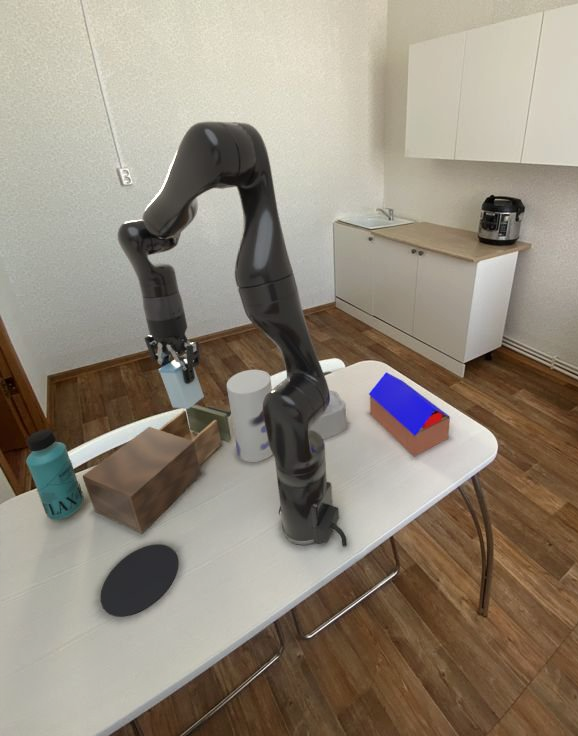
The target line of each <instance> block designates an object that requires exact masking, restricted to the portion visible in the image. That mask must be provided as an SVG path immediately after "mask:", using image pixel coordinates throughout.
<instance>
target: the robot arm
mask: <svg viewBox="0 0 578 736" xmlns="http://www.w3.org/2000/svg"><path fill="white" fill-rule="evenodd" d="M271 166H272V165H271V162H270V156H269V153H268V148H267V146H266V143H265V140H264V139H263V136H262V134H261V133H260V132H259V131H258V130H257V128H256V127H254V125H251V124H250V123H247V122H237V121H213V120H211V121H210V120H209V121H200V122H196V123H194V124H192V125H191V126H190V127H189V128H188V129H187V131H186V132H185V133H184V136H183V137H182V139H181V141H180V143H179V146H178V148H177V150H176V153H175V155H174V157H173V160H172V162H171V164H170V166H169V169H168V173H167V175H166V178H165V180H164V183H163V185H162V187H161V189H160V190H159V192H158V193H157V194H156V195H155V197H154V198H153V199H152V200H151V202H149V204H148V205H147V207H146V208H145V209H144V211H143V214H142V218H141V219H138V220H130V221H125V222H123V223H122V224H121V225H120V226H119V228H118V230H117V241H118V245H119V246H120V248H121V250H122V252H123V253H124V254H125V256H126V258H127V260H128V261H129V263H130V265H131V268H132V269H133V271H134V273H135V276H136V277H137V280H138V285H139V288H140V293H141V297H142V308H143V311H144V316H145V320H146V325H147V329H148V333H149V334H148V335H147V336H144V341H145V343H146V347H147V350H148V353H149V355H150V359H151V360H152V361H154V362H155V361H157V364H158V365H160V368H161V367H163V366H165V365H167V364H168V363H170V362H172V360H171V357H173V360H175V361H176V362H179V364H180V365H181V367H182V369H183V370H182V372H183V377H184V381H185V383H186V384H189V383H191V382H192V381H193V380H194V379H195V375H194V370H193V368H195V367H197V366H199V365H200V364H201V357H200V343H199V341H198V340H197V341H194V342H191V341H189V339H188V338H187V336H186V331H187V329H188V323H187V318H186V314H185V308H184V302H183V298H182V295H181V293H180V290H179V284H178V280H177V274H176V270H175V268H174V266H173V265H171V264H170V263H164V262H151V261H150V260H151V259H149V256H151V255H155V254H160V253H166V252H168V251H171V250H173V249H174V248H176V247H177V246H178V244H179V241H180V238H181V235H182V232H183V231H184V230H185V229H187V227H189V225H190V224H191V223H192V222H193V221H194V220H195V218H196V216H197V214H198V210H199V202H198V197H199V196H201V195H203V194H205V193H206V192H208V191H210V190H213V189H217V190H218V189H221V190H222V189H230V188H236V189H237V193H238V196H239V200H240V204H241V210H242V217H243V219H242V221H243V222H242V223H243V224H242V231H241V237H240V239H239V244H238V249H237V252H236V259H235V263H234V280H235V284H236V287H237V288H236V289H237V291H238V294H239V297H240V302H241V304H242V307H243V309H244V312H245V314H246V316H247V319H249V321H250V322H251V324H253V326H255V327H256V328H257V329H258V330H259V331H260V332H261V333H262V334H263V335H265V337H267V338H268V339H269V340H270V341H271V342H272V344H274V345H275V346H276V348H277V349H278V351H279V353H280V355H281V357H282V360H283V364H284V367H285V368H284V369H285V373H286V378H284V380H282V381H281V382H280V383H278V385H276V386H275V387H274V388H273V387H272V390H271V391H270V392H269V393H268V394H267V395H266V396H265V398H264V401H263V417H264V422H265V427H266V432H267V438H268V443H269V446H270V449H271V451H272V453H273V455H272V456H273V457H274V461H275V462H274V463H275V471H276V480H277V488H278V496H279V498H278V499H279V505H280V506H279V509H278V515H280V514H281V523H282V532H283V535H284V536H285V538H286V539H287V540H288V541H289V542H291V543H292V544H294V545H298V546H307V545H308V546H309V545H312V544H317V545H320V544H321V543H322V542H323V543H328V541H329V539H330V536H331V534H332V532H333V531H335V532H336V533H337V534H338V535H339V536H340V539H341V543H342V544H341V545H342V547H346V546H347V545H348V544H347V536H346V534H345V532H344V531H343V530H342V529H341V528H340V526H338V525H337V522H338V521H339V519H340V517H339V516H340V514H339V513H340V512H339V507H337V506H334V505H333V490H332V488H333V487H332V483H331V482H330V481H328V475H327V462H326V461H327V459H326V445H325V439H323V438H322V437H321V435H320V434H319V433H317V432H316V431H313V430H311V429H309V428H310V427H311V426H312V425H313V424H314V423H315V422H316V421H317V420H318V419H319V418H320V417H321V416H322V415H323V414H324V413H325V411H326V410H327V408H328V406H329V403H330V393H329V391H330V389H329V385H328V381H327V379H326V376H325V373H324V371H323V368H322V366H321V363H320V361H319V358H318V355H317V353H316V350H315V347H314V344H313V341H312V338H311V334H310V332H309V327H308V324H307V321H306V317H305V313H304V311H303V306H302V302H301V298H300V294H299V289H298V285H297V282H296V278H295V277H296V276H295V274H294V269H293V267H292V264H291V261H290V256H289V253H288V250H287V245H286V241H285V237H284V233H283V229H282V228H283V227H282V224H281V219H280V216H279V210H278V205H277V203H278V202H277V198H276V192H275V186H274V185H275V184H274V179H273V174H272V167H271ZM155 350H156V351H157V353H156V351H155ZM181 354H182V355H181ZM184 359H186V360H187V363H185V362H184Z"/></svg>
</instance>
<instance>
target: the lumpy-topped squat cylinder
mask: <svg viewBox="0 0 578 736" xmlns="http://www.w3.org/2000/svg"><path fill="white" fill-rule="evenodd" d="M329 393H330V403H329V406H328V408H327V410H326V411H325V413H324V414H323V415H322V416H321V417H320V418H319V419H318V420H317V421H316V422H315V423H314V424H313V425H312V426H311V427H310V428H309V429H311V430H313V431H316V432H317V433H319V434H320V435H321V437H322V438H323V440H326V439H329V438H331V437H334V436H337V435H339V434H341V433H343V432H344V431H345V430H346V428H347V409H346V402H345V401H344V400H343V399H342V398H341V397H340V395H339V393H338V392H337V391H335V390H329Z"/></svg>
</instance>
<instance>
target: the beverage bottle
mask: <svg viewBox="0 0 578 736" xmlns="http://www.w3.org/2000/svg"><path fill="white" fill-rule="evenodd" d="M26 442H27V446H28V447H27V448H28V449H29V451H30V453H29V455H28V456H27V457H26V459H25V463H26V465H27V467H28V469H29V472H30V475H31V477H32V480H33V482H34V485H35V487H36V492H37V493H38V497H39V500H40V503H41V505H42V507H43V511H44V512H45V514H46V517H47V518H49V519H50V520H52V521H59V520H60V521H61V520H63V519H66V518H68V517H70V516H72V515H73V514H75V513H76V512H77V511H78V510H79V509H80V508H81V507H82V505H83V503H84V494H83V491H82V488H81V487H82V486H81V483H79V480H78V478H77V475H76V472H75V468H74V465H73V462H72V460H71V459H70V455H69V452H68V449H67V445H66V444H65V443H63V442H60V441H57V437H56V435H55V434H54V431H53V430H52V429H49V428H48V429H47V428H46V429H40V430H37V431H36V432H34V433H32V434H31V435H29V437H28V438H27V440H26Z"/></svg>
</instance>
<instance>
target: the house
mask: <svg viewBox="0 0 578 736" xmlns="http://www.w3.org/2000/svg"><path fill="white" fill-rule="evenodd" d="M368 395H369V407H370V408H369V411H370V412H369V414H370V416H371V417H372V418H374V419H375V420H376V421H377V422H378V423H379V425H381V426H382V427H383V428H384V430H386V431H387V432H388V433H389V434H390V435H391V436H392V437H393V438H395V441H397V442H398V443H400V445H402V447H403V448H405V450H407V452H408V453H409V454H411V455H412V456H413V457H416V456H419V455H420V454H423V453H424V452H426V451H428V450H429V449H431V448H434V447H436V446H438V445H440V444H441V443H443V442H445V441H447V440H449V434H450V420H451V416H450V415H449V414H447V413H446V412H445V411H444V410H442V409H441V408H439V407H438V406H436V404H434V403H433V402H431V401H430V400H429V399H428V398H426V397H425V396H424V395H422V394H421V393H420V392H418V391H417V390H415V389H414V388H413V387H411V386H410V385H409V384H407V383H406V382H405V381H404V380H402V379H400V378H398V377H396V376H395V375H392V374H391V373H389V372H387V371H386V372H385V373H384V374H383V375H382V377H381V378H380V379H379V380H378V381H377V383H376V384H375V385H374V386H373V388H372V389H371V391H370V392H369V393H368Z"/></svg>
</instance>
